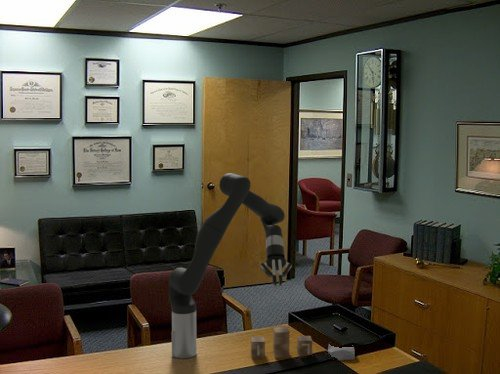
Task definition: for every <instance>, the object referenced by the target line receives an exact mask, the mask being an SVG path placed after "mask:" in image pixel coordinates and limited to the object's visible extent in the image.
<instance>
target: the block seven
mask: <svg viewBox="0 0 500 374" xmlns="http://www.w3.org/2000/svg"><path fill="white" fill-rule="evenodd" d="M296 338H297V340H296V341H297V342H296V343H297V345H296V348H297V349H296V351H297V352H298V353H297V352H296V353H297V355H299V356H305V355H312V356H313V339H312V336H311V335H297V337H296ZM299 356H298V357H299Z"/></svg>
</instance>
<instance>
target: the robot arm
mask: <svg viewBox="0 0 500 374" xmlns="http://www.w3.org/2000/svg"><path fill="white" fill-rule="evenodd" d="M218 184H219V188H220V189H219V190H220V191H221V193H222V194H224V195H225V196H227V199H226V201H224V204H223V205H222V206H221V207H219V208H218V209H216V210H215V211H214V212H212V213H211V214H210V215H209V216H208V217H206V218H205V219H204V221H203V223H202V225H201V226H200V228H199V231H197V234H196V238H195V245H194V254H193V257H192V259H191V260H190V263H189V264H188V266H187V267H186V268H185V267H177V268H175V269H173V270H172V271H171V272H170V275H169V278H168V296H169V298H168V300H169V303H170V307H171V357H172V358H176V359H190V358H193V357H195V356H197V352H198V351H197V348H198V347H197V303H196V302H195V300H194V298H193V296H192V295H193V294H195V293H196V292H197V291H198V289H199V287H200V286H201V283H202V281H203V278H204V276H205V274H206V273H205V272H206V271H207V269H208V265H209V263H210V261H211V260H212V258H213V256H214V254H215V252H216V250H217V248H218V246H219V244H220V243H221V241H222V239H223V237H224V235H225V234H226V231H227V229H228V227H229V226H230V224H231V222H232V220H233V218H234V216H235V215H236V214H237V211H238V210H239V209H240V207H241V206H242V205H243V206H245V207H246V208H248V209H249V210H250V211H251V212H252V213H254V214H255V215H256V216H258V217H260V222H261V224H262V226H263V229H264V231H265V252H266V254H265V255H266V260H265V262H261V264H260V269H262V271H263V272H264V273H265V274H266V276H267V277H269V278H271V279H272V285H274V287H277V283H278V286H279V287H281V286H282V285H283V278H284V277H285V278H286V277H287V276H288V273H289V272H290V270H291V268H292V267H293V266H292V265H293V263H292V262H288V261H287V260H286V257H285V255H286V254H285V245H284V239H283V231H282V228H281V226H279V225H278V224H279V223H282V222H283V221H284V220H285V217H286V215H285V211H284V209H282V208H281V207H280V206H278V205H277V204H274V203H270V202H268V201H267V200H266V199H264V198H263V197H262V196H260V195H259V194H257V193H256V192H253V191H251V180H250V179H249V177H246V176H244V175H241V174H236V173H229V172H228V173H225V174H224V175H222V176H221V178H220V180H219V183H218ZM284 267H285V269H284ZM283 269H284V270H283ZM276 271H277V274H278V277H277V275H276ZM277 280H278V281H277Z"/></svg>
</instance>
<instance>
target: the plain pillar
mask: <svg viewBox="0 0 500 374" xmlns="http://www.w3.org/2000/svg"><path fill="white" fill-rule="evenodd" d="M290 334H291V333H290V329H289V327H288V326H287V327H286V326H285V327H282V326H281V327H279V326H277V327H273V335H272V336H273V338H272V340H273V343H272V344H273V349H272V350H273V353H272V354H273V356H274V359H289V358H290Z"/></svg>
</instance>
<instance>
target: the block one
mask: <svg viewBox="0 0 500 374" xmlns="http://www.w3.org/2000/svg"><path fill="white" fill-rule="evenodd" d="M250 355H251V356H250V357H251V359H266V341H265V336H251V337H250Z"/></svg>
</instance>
